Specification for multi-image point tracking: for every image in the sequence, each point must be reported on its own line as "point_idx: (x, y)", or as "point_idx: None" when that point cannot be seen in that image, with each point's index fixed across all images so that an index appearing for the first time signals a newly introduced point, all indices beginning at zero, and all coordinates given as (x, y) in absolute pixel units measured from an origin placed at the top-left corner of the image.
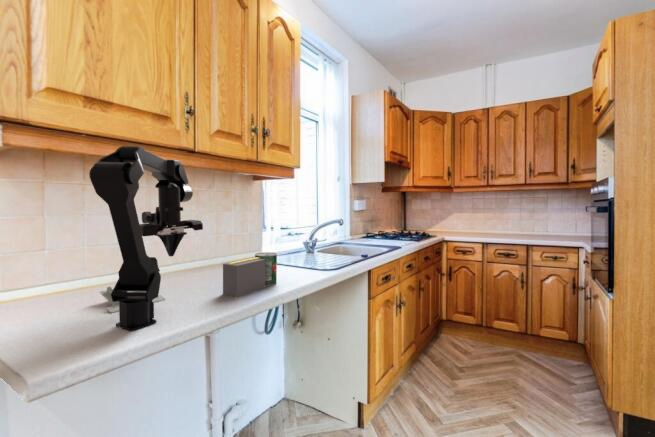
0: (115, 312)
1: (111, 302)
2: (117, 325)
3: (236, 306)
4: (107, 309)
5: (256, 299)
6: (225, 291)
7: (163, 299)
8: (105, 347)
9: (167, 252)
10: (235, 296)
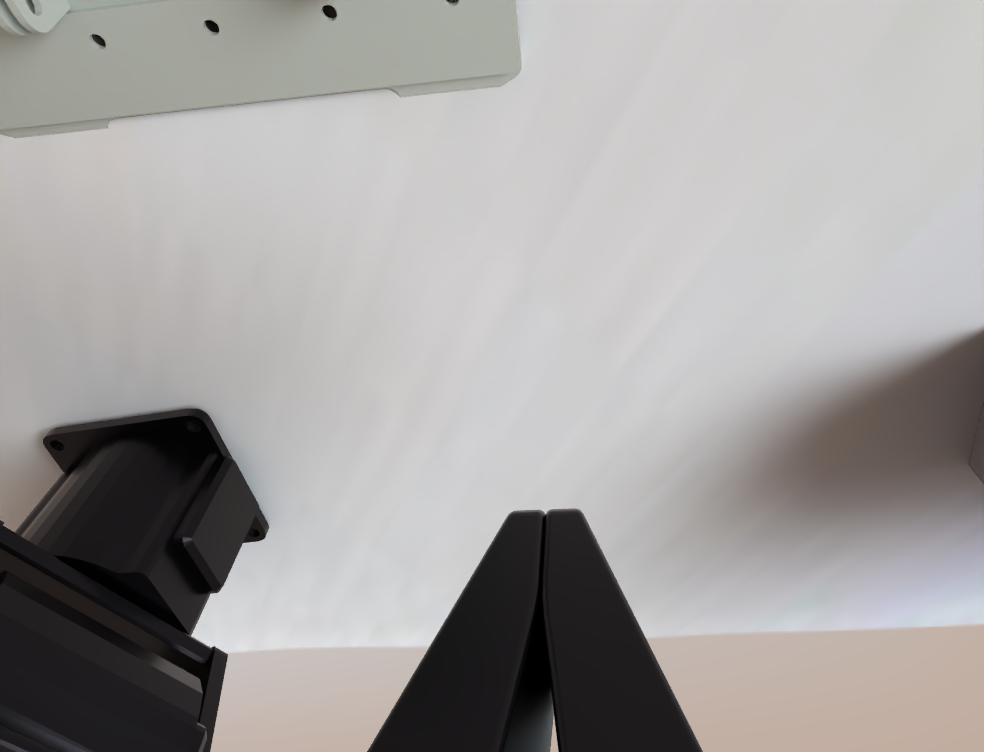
0: (28, 133)
1: None
2: (57, 456)
3: (760, 599)
4: None
5: (966, 588)
6: None
7: (497, 71)
8: None
9: (470, 589)
10: (971, 454)
